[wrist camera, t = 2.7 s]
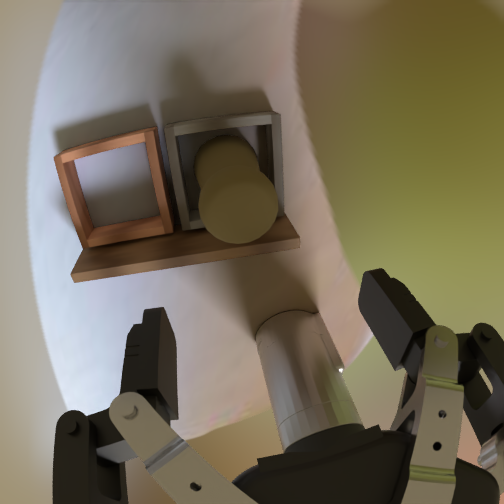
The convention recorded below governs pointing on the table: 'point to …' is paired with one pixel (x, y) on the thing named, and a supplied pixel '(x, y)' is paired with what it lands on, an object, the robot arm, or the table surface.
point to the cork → (233, 190)
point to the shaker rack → (167, 207)
